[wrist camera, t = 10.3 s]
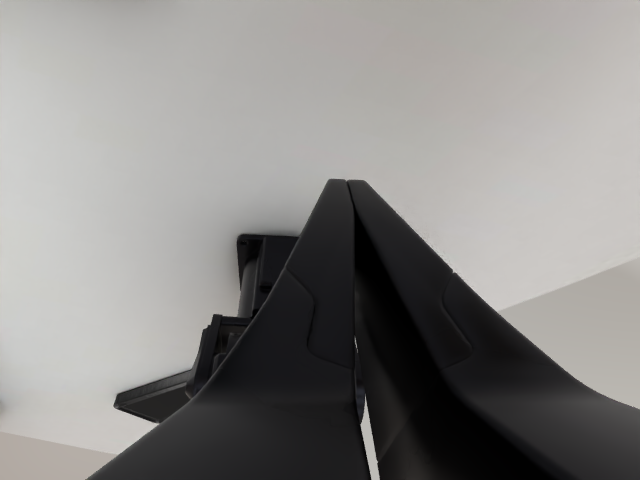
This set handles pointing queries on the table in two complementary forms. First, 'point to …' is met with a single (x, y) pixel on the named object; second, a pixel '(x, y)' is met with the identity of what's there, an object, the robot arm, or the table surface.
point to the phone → (155, 399)
